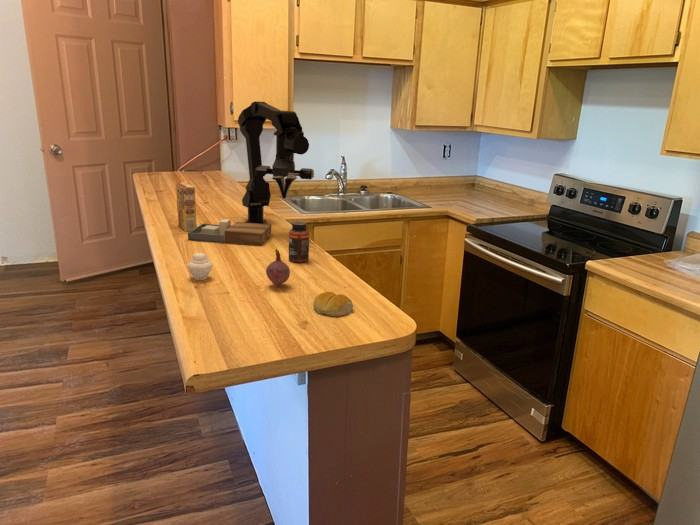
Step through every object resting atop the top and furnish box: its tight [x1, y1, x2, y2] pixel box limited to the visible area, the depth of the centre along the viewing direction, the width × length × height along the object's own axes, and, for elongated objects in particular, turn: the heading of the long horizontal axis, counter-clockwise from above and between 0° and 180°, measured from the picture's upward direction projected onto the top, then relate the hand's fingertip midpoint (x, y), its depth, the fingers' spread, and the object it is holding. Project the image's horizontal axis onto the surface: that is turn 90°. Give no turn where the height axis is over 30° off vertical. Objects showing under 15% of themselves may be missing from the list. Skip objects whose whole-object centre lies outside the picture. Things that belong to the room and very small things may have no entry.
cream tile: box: [218, 218, 232, 235], centre depth 180 cm, size 4×4×2 cm
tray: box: [187, 223, 225, 244], centre depth 178 cm, size 13×12×2 cm
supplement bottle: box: [288, 221, 310, 264], centre depth 157 cm, size 6×6×11 cm
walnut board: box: [224, 221, 272, 247], centre depth 176 cm, size 13×12×4 cm
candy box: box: [175, 182, 198, 232], centre depth 184 cm, size 9×4×15 cm, turn 33°
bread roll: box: [313, 291, 354, 317], centre depth 124 cm, size 8×9×4 cm
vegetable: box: [265, 248, 291, 287], centre depth 135 cm, size 6×6×10 cm
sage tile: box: [201, 225, 219, 235], centre depth 178 cm, size 4×4×2 cm
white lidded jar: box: [187, 252, 213, 281], centre depth 138 cm, size 6×6×7 cm
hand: (284, 198), depth 180 cm, fingers closed
